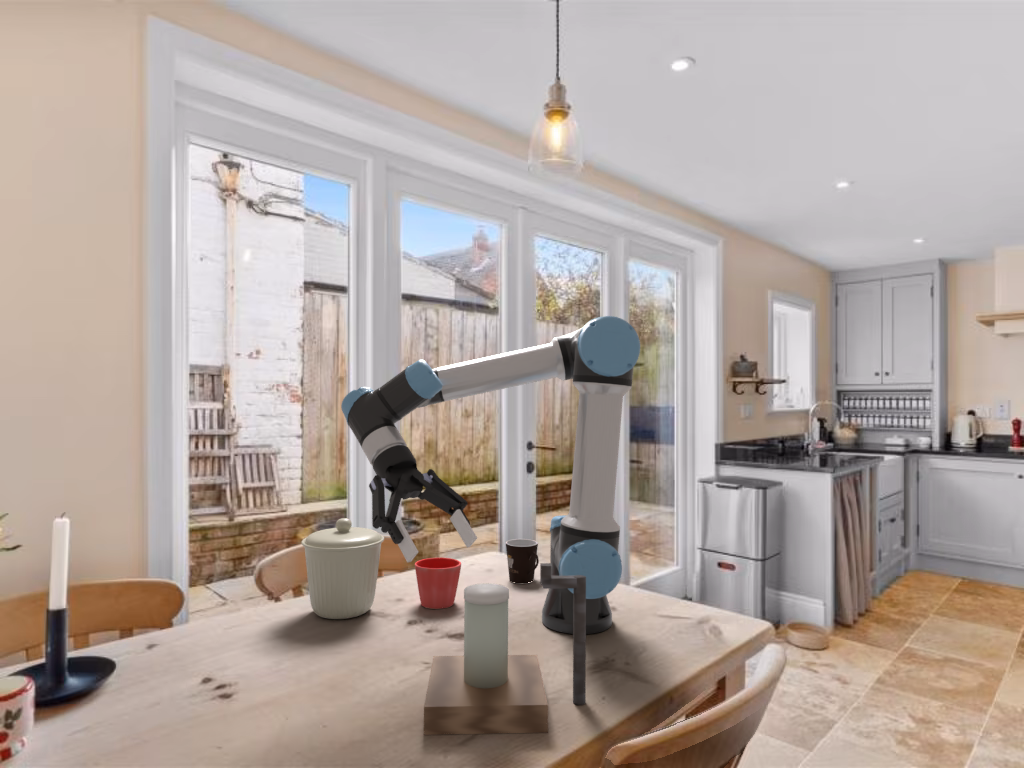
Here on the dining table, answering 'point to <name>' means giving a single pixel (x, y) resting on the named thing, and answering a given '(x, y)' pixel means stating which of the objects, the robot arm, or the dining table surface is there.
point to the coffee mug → (522, 559)
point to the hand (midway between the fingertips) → (444, 549)
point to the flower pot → (437, 581)
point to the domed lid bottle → (486, 635)
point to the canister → (342, 569)
